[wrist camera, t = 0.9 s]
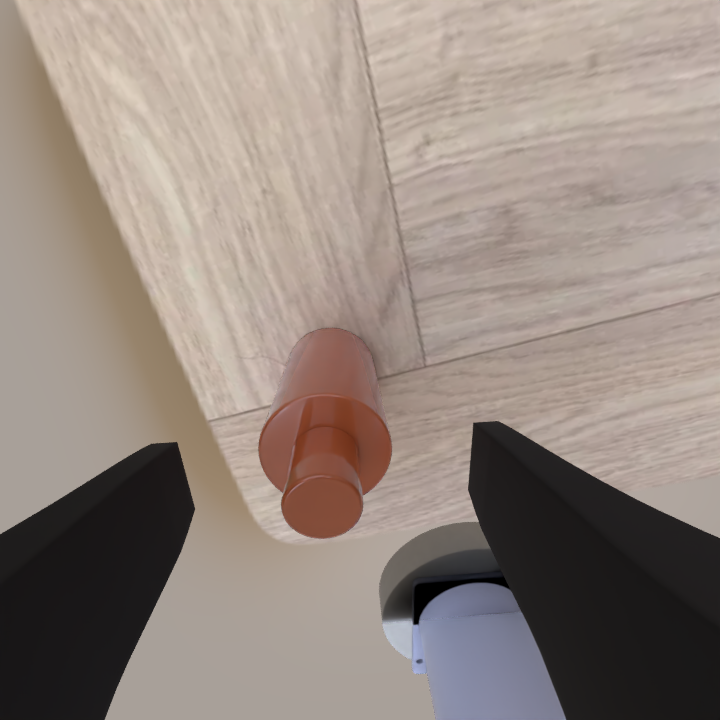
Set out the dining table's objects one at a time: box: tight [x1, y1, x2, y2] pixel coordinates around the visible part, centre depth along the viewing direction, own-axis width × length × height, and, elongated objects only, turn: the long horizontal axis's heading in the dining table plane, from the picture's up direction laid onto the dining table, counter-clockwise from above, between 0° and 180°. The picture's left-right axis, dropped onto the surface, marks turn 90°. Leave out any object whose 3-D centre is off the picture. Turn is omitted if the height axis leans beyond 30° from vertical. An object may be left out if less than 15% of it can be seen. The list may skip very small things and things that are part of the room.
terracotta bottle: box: [258, 328, 392, 539], centre depth 12 cm, size 4×4×8 cm
